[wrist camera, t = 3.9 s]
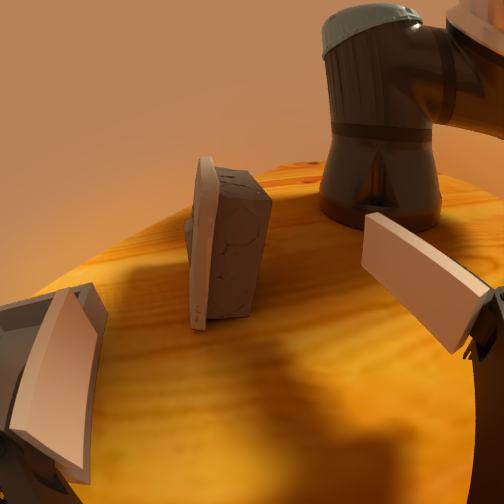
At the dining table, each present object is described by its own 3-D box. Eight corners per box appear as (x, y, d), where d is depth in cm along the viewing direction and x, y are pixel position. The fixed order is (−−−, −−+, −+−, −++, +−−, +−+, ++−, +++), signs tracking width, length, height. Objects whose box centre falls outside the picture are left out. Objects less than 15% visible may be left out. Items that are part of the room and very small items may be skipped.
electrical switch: (191, 262, 24) (177, 157, 20) (248, 255, 25) (244, 151, 20) (192, 339, 16) (163, 190, 12) (274, 327, 17) (277, 179, 12)
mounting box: (107, 313, 19) (92, 282, 17) (90, 484, 7) (50, 463, 6) (6, 333, 17) (-10, 308, 15) (-33, 453, 5) (-61, 429, 4)
